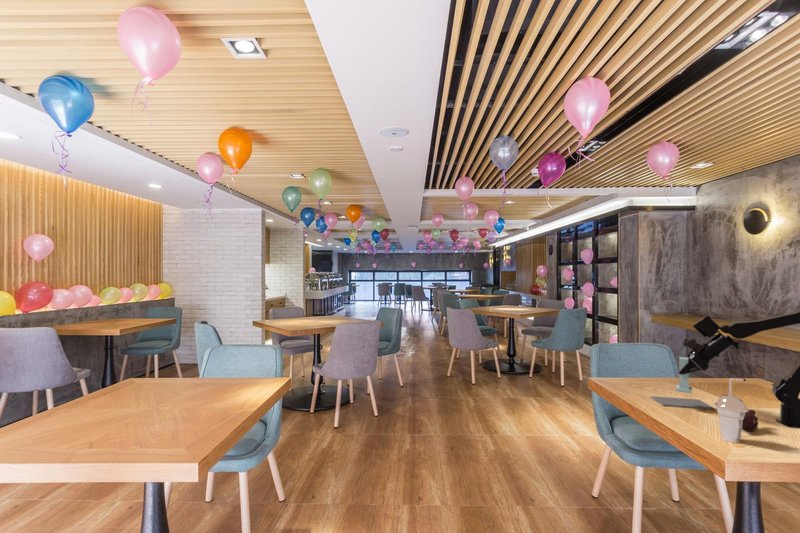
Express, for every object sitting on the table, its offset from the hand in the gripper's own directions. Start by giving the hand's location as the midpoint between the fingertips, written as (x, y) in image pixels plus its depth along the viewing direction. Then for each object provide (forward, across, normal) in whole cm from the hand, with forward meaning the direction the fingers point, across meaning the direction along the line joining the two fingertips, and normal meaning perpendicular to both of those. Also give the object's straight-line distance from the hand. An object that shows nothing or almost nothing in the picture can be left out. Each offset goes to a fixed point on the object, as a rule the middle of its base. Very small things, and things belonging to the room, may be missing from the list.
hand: (679, 372), depth 165 cm
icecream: (-3, +16, +23) cm, 28 cm away
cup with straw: (0, +32, +19) cm, 37 cm away
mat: (+9, -7, +10) cm, 15 cm away
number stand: (+4, 0, +6) cm, 7 cm away
